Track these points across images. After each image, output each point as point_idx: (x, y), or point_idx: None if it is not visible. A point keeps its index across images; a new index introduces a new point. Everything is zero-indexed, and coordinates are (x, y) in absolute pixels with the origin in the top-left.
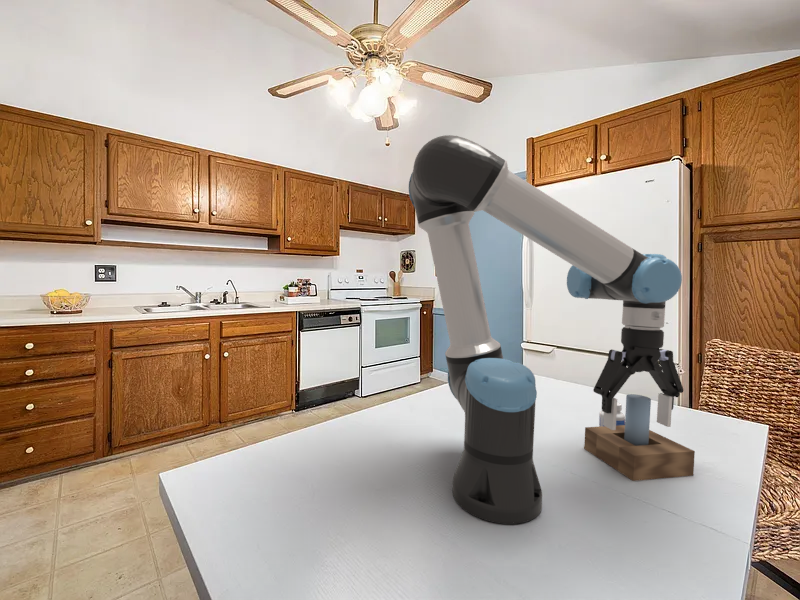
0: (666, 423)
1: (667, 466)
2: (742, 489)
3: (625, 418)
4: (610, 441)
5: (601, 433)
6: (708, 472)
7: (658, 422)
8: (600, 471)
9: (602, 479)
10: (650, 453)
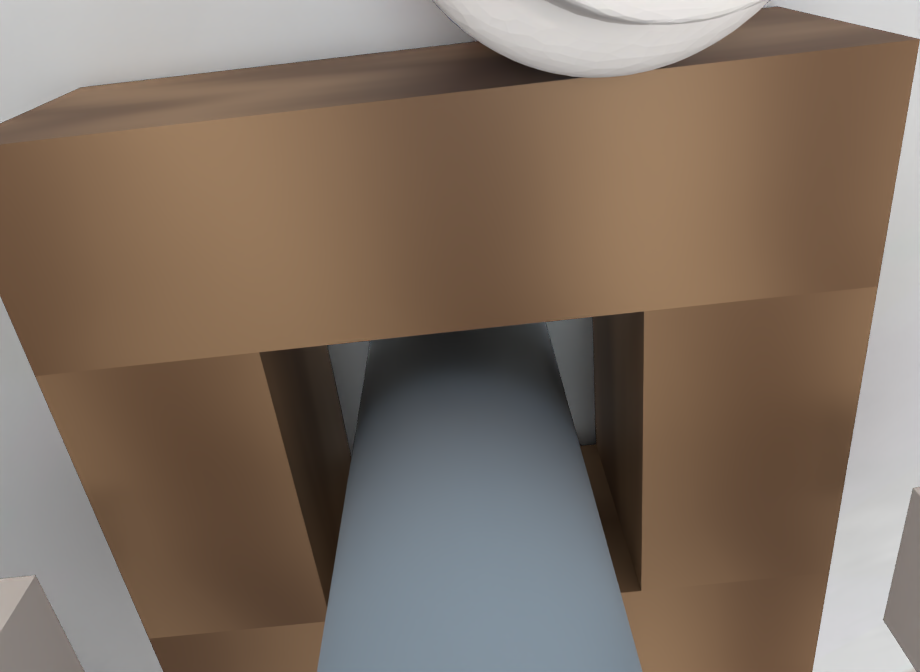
0: (905, 641)
1: None
2: (864, 656)
3: (328, 632)
4: (115, 545)
5: (105, 361)
6: (894, 505)
7: (913, 514)
8: (69, 483)
9: (39, 567)
10: None
